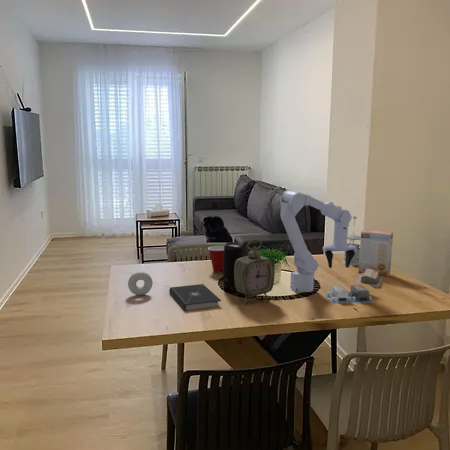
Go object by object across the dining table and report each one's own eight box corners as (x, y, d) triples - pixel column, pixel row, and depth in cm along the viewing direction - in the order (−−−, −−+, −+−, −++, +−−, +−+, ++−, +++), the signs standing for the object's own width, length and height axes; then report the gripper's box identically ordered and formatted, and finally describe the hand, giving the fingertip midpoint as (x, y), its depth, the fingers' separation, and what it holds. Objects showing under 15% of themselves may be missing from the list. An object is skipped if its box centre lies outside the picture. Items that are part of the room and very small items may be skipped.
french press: (342, 264, 246) (345, 217, 241) (341, 259, 257) (344, 213, 253) (362, 265, 244) (365, 218, 240) (359, 260, 256) (363, 214, 251)
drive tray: (333, 306, 185) (333, 299, 185) (323, 296, 196) (324, 290, 196) (374, 305, 188) (375, 298, 187) (363, 295, 198) (363, 289, 198)
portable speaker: (229, 292, 199) (229, 247, 196) (218, 286, 207) (219, 242, 204) (246, 290, 203) (247, 245, 199) (236, 283, 211) (236, 241, 208)
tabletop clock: (243, 306, 184) (245, 243, 179) (231, 299, 191) (232, 238, 187) (273, 300, 191) (275, 239, 187) (260, 293, 199) (262, 235, 194)
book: (169, 294, 198) (169, 287, 197) (202, 290, 203) (202, 283, 203) (184, 312, 178) (184, 304, 177) (221, 307, 184) (221, 300, 183)
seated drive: (337, 302, 187) (337, 292, 186) (330, 295, 195) (330, 285, 194) (348, 301, 187) (348, 291, 187) (340, 294, 195) (341, 285, 194)
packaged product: (362, 265, 228) (384, 268, 224) (361, 275, 229) (383, 278, 225) (356, 275, 212) (379, 278, 208) (355, 285, 213) (378, 289, 209)
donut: (152, 292, 197) (151, 269, 196) (153, 295, 194) (153, 272, 192) (127, 294, 195) (127, 271, 193) (128, 297, 191) (127, 273, 190)
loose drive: (357, 301, 188) (358, 291, 187) (350, 294, 196) (350, 285, 195) (368, 301, 188) (369, 291, 187) (360, 294, 196) (361, 285, 195)
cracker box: (390, 274, 230) (393, 232, 226) (387, 277, 225) (390, 234, 221) (361, 270, 237) (364, 229, 233) (357, 272, 232) (360, 230, 228)
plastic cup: (216, 266, 239) (216, 243, 236) (234, 270, 232) (234, 246, 230) (203, 271, 230) (203, 247, 228) (221, 275, 224) (221, 250, 221)
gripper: (327, 238, 199) (325, 270, 201) (360, 238, 201) (358, 269, 203) (321, 235, 206) (320, 265, 208) (353, 235, 208) (351, 265, 210)
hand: (338, 267), depth 206 cm, fingers open, 7 cm apart
